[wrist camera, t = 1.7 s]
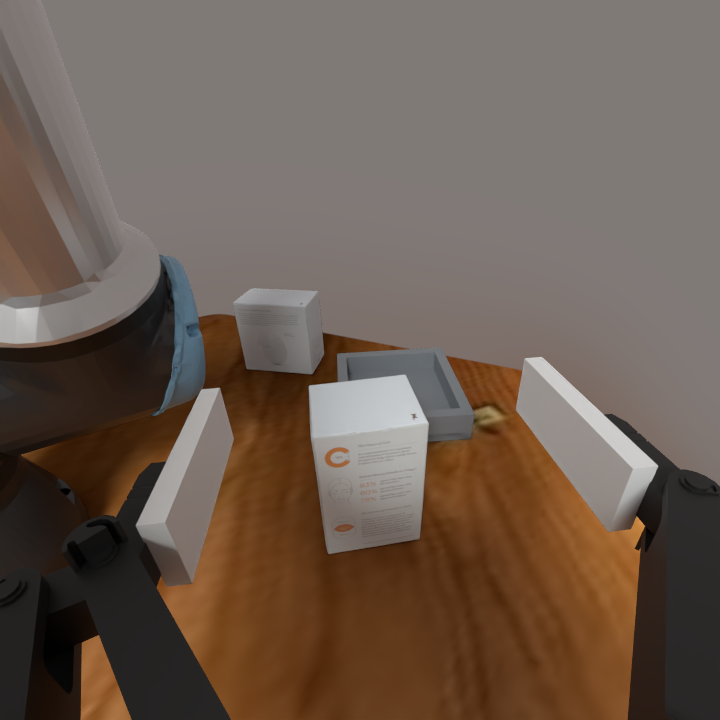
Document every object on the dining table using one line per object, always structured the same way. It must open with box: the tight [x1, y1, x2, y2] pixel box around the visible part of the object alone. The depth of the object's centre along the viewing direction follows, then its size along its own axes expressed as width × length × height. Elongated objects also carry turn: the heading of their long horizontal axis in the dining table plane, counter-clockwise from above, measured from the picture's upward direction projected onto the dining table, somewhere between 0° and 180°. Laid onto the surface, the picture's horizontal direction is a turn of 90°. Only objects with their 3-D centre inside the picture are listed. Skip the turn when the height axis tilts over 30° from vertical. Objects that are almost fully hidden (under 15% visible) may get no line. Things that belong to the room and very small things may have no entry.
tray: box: [337, 348, 475, 442], centre depth 48 cm, size 14×14×4 cm
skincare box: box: [233, 288, 324, 374], centre depth 56 cm, size 10×6×10 cm, turn 79°
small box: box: [309, 374, 429, 554], centre depth 31 cm, size 8×6×13 cm
